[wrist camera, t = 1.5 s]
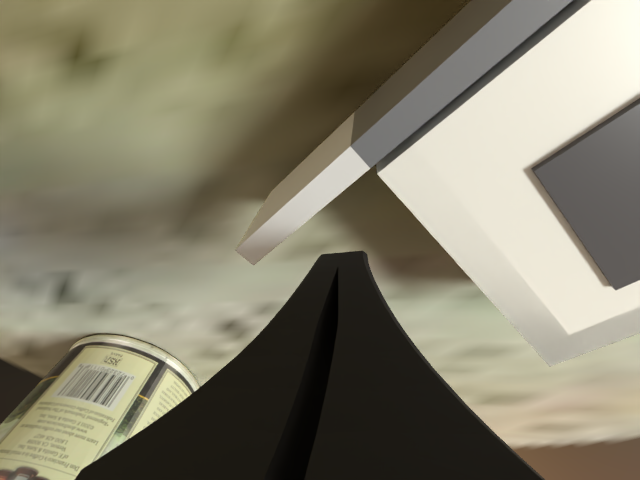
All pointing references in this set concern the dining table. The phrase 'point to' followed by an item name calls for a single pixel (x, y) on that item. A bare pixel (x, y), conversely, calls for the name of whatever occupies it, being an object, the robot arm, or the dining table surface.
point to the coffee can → (90, 407)
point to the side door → (396, 112)
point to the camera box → (542, 180)
